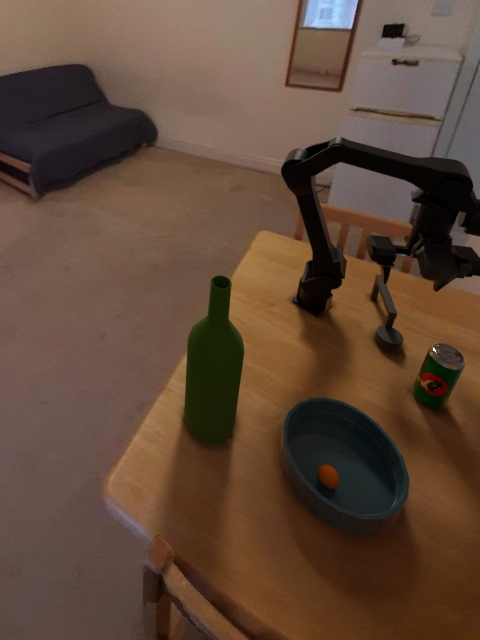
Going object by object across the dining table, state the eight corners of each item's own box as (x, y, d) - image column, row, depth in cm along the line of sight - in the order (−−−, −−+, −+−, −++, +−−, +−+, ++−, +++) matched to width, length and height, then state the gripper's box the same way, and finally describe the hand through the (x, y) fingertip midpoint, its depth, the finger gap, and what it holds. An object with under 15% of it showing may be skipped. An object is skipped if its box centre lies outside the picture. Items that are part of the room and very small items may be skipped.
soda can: (450, 413, 72) (473, 368, 67) (418, 408, 73) (439, 363, 68) (436, 387, 77) (457, 343, 71) (406, 382, 78) (424, 339, 72)
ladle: (403, 354, 83) (412, 330, 80) (377, 349, 84) (385, 325, 81) (384, 299, 97) (391, 276, 94) (361, 295, 98) (368, 272, 95)
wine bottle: (236, 403, 75) (254, 267, 61) (232, 453, 68) (251, 311, 54) (188, 389, 78) (195, 256, 64) (179, 436, 71) (185, 296, 56)
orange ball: (312, 479, 63) (315, 468, 62) (322, 466, 65) (325, 455, 64) (330, 497, 61) (334, 487, 60) (340, 483, 63) (344, 473, 61)
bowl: (257, 459, 67) (261, 440, 64) (314, 398, 76) (320, 378, 73) (364, 572, 54) (374, 552, 52) (418, 482, 63) (429, 462, 61)
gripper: (391, 243, 72) (369, 307, 79) (517, 259, 67) (482, 326, 74) (373, 209, 81) (355, 269, 88) (482, 221, 77) (454, 283, 84)
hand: (409, 286), depth 83 cm, fingers open, 9 cm apart
